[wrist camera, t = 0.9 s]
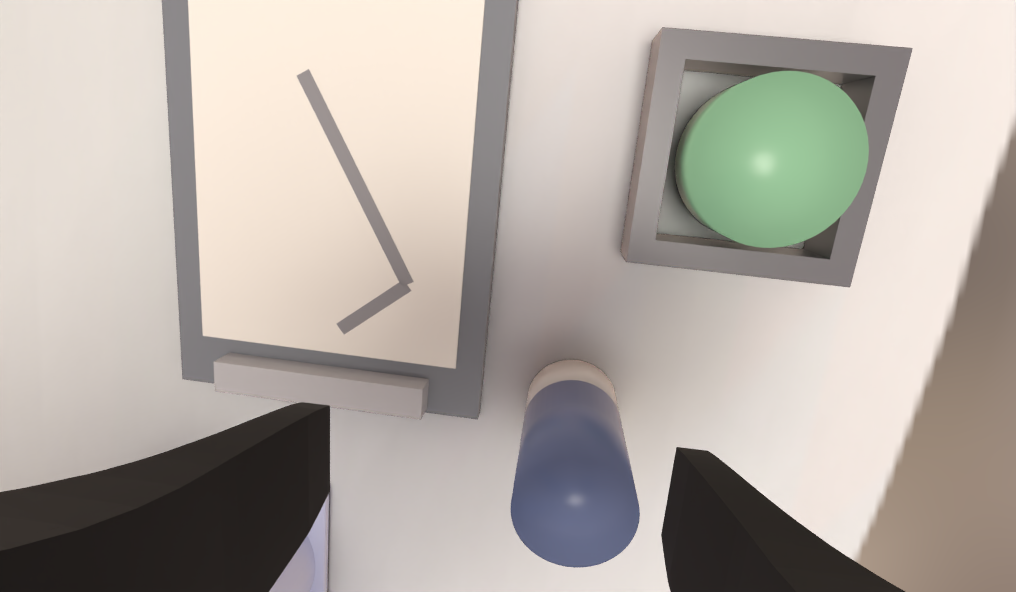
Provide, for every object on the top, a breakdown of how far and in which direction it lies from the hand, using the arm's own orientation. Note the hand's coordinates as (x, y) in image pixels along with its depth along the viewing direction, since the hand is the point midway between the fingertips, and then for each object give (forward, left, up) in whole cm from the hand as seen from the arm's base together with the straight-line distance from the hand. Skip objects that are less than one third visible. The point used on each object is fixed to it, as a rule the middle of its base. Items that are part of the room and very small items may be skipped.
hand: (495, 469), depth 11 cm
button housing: (+7, -7, -10) cm, 14 cm away
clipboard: (+4, +7, -10) cm, 13 cm away
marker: (-3, -2, -10) cm, 10 cm away
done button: (+7, -7, -8) cm, 13 cm away
